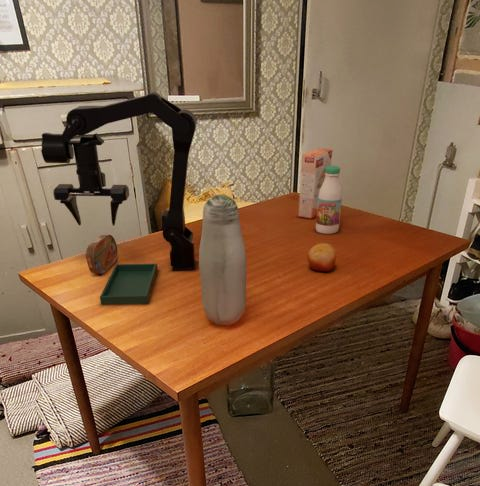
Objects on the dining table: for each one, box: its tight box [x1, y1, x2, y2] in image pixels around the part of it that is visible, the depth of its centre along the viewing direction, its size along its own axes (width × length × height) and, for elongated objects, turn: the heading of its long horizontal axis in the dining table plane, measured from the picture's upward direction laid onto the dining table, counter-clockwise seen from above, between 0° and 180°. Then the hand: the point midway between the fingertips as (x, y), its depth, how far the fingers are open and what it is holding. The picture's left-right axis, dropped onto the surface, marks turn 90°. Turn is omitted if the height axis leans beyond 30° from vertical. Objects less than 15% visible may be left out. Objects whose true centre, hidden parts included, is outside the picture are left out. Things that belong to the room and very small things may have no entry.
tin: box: [85, 234, 118, 275], centre depth 140 cm, size 15×3×8 cm, turn 168°
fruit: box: [306, 242, 337, 272], centre depth 138 cm, size 8×8×8 cm
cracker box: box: [297, 147, 333, 220], centre depth 176 cm, size 14×6×21 cm, turn 149°
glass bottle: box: [198, 194, 247, 326], centre depth 107 cm, size 10×10×28 cm
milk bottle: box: [315, 165, 343, 235], centre depth 160 cm, size 8×8×20 cm
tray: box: [99, 263, 159, 306], centre depth 131 cm, size 12×21×2 cm, turn 1°
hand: (96, 225), depth 135 cm, fingers open, 9 cm apart
